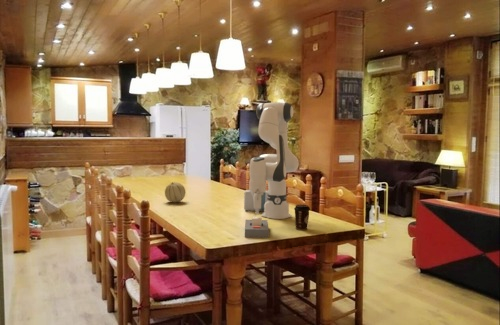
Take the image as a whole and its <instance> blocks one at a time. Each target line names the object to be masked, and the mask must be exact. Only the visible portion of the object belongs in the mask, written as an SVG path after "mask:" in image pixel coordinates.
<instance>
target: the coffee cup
mask: <svg viewBox="0 0 500 325" xmlns="http://www.w3.org/2000/svg"><path fill="white" fill-rule="evenodd" d="M293 210H294V220H295V229H296V230H298V231H306V230H307V229H308V224H309V218H310V217H309V216H310V210H311V208H310V206H309V205H307V204H296V205H295V207H294V209H293Z"/></svg>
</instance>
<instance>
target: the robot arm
mask: <svg viewBox="0 0 500 325" xmlns="http://www.w3.org/2000/svg"><path fill="white" fill-rule="evenodd" d="M255 112H256V113H255V114H256V117H257V119H258V120H259V122H258V131H257V132H258V133H257V134H258V136H259V138H260V139H261V140H263V141H264V142H265V143H267V144H269V145H270V147H271V148H273V149H274V150H276V153H267V154H266V153H264V154H261V155H259V156H256V157H255V156H254V157H252V158H251V159H250V162H249V172H248V174H249V181H248V182H249V184H248V190H249V192H251V194H252V195H253V200H254V209H255V211H254V213H255V215H257V216H258V215H259V214H260V211H259V209H261V195H263V192H266V191H268V196H267V200H268V201H267V202H266V203H265V205H264V208H265V209H264V211H262V214H261V215H260V217H261V218H262V217H264V218H268V219H274V220H284V219H287V218H293V217H292V214H290V204H289V203H288V201H287V198H288V195H287V182H286V180H285V179H286V177H287V173H288V174H289V173H292V172H296V171H297V170H298V169H299V165H300V162H299V159H298V157H297V156H296V155H294V153H292V151H291V150H290V147H289V144H288V143H289V142H288V122H290V121H291V120H292V118H293V116H294V106H293V105H292V103H289V102H277V101H275V102H266V103H265V102H261V103H259V104H258V105H257V107H256V111H255ZM266 184H267V185H266ZM267 186H268V188H267ZM267 189H268V190H267Z"/></svg>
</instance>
